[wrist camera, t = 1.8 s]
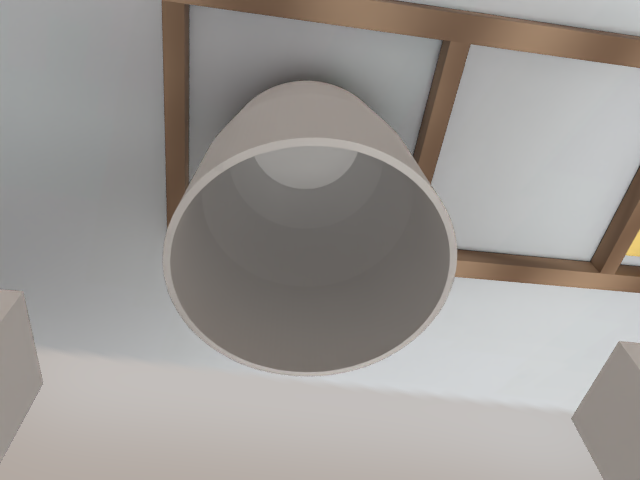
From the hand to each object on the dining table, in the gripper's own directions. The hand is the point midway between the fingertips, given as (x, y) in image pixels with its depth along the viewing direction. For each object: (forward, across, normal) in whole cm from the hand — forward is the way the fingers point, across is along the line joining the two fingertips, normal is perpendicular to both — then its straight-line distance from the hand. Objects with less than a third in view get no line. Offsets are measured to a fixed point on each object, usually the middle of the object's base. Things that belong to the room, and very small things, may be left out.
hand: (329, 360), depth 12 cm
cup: (+13, 0, 0) cm, 13 cm away
